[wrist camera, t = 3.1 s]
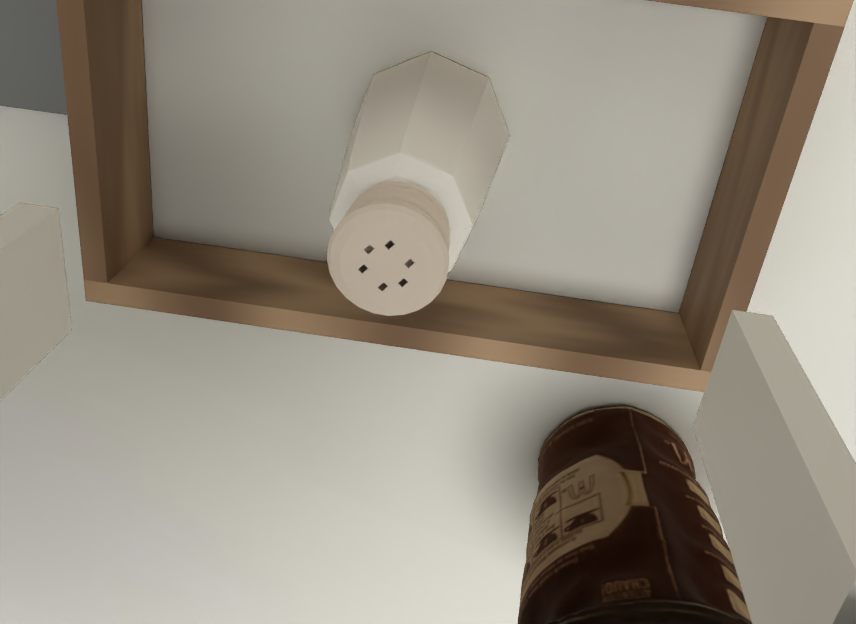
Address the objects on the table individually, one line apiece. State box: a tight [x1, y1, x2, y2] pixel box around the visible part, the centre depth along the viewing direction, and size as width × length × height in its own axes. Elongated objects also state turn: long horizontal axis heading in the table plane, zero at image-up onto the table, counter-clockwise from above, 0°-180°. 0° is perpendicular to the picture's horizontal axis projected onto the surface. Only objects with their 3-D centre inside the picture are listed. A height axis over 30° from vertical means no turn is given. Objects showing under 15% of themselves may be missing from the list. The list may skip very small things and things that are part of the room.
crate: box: [56, 0, 854, 392], centre depth 26 cm, size 22×13×4 cm, turn 83°
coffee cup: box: [518, 406, 752, 624], centre depth 28 cm, size 9×8×13 cm
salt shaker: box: [327, 52, 510, 316], centre depth 23 cm, size 5×5×11 cm
